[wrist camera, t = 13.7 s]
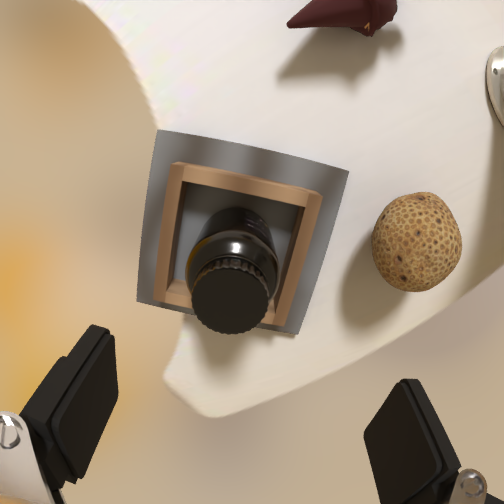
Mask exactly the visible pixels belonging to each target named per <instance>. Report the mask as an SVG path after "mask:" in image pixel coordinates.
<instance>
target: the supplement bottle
mask: <svg viewBox="0 0 504 504" xmlns="http://www.w3.org/2000/svg"><path fill="white" fill-rule="evenodd" d="M185 280H186V284H187V288H188V290H189V292H190V294H191V296H192V297H191V302H192V308H193V309H194V313H195V315H197V318H198V319H199V320H200V321H201V322H202V324H204V325H206V326H207V327H208V328H209V329H212V330H213V331H215V332H219V333H221V334H223V333H226V334H238V333H244V332H246V331H250V330H251V329H252V328H254V327H256V326H257V324H259V323H261V320H262V319H263V318H264V317H265V313H266V312H267V311H268V306H269V303H270V302H271V301H272V299H273V298H274V296H275V294H276V292H277V290H278V287H279V283H280V267H279V262H278V258H277V254H276V250H275V246H274V242H273V238H272V234H271V231H270V229H269V227H268V225H267V224H266V222H265V221H264V220H263V219H262V218H261V217H260V216H259V215H258V214H256V213H255V212H253V211H251V210H249V209H245V208H240V207H231V208H226V209H223V210H220V211H218V212H217V213H215V214H214V215H212V216H211V217H210V218H209V219H208V220H207V222H206V223H205V224H204V226H203V228H202V230H201V232H200V234H199V236H198V238H197V240H196V242H195V244H194V246H193V248H192V250H191V252H190V255H189V257H188V260H187V263H186V268H185Z"/></svg>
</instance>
